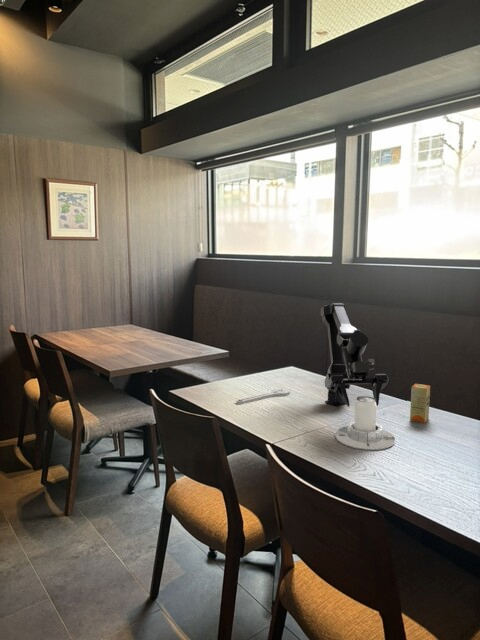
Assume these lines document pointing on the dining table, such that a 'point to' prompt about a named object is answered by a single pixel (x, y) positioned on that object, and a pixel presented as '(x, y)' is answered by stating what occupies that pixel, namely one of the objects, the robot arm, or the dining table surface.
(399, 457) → the dining table surface
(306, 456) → the dining table surface
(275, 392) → the adjustable wrench
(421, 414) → the shoe polish box
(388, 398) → the dining table surface
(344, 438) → the rosette
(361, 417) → the can
